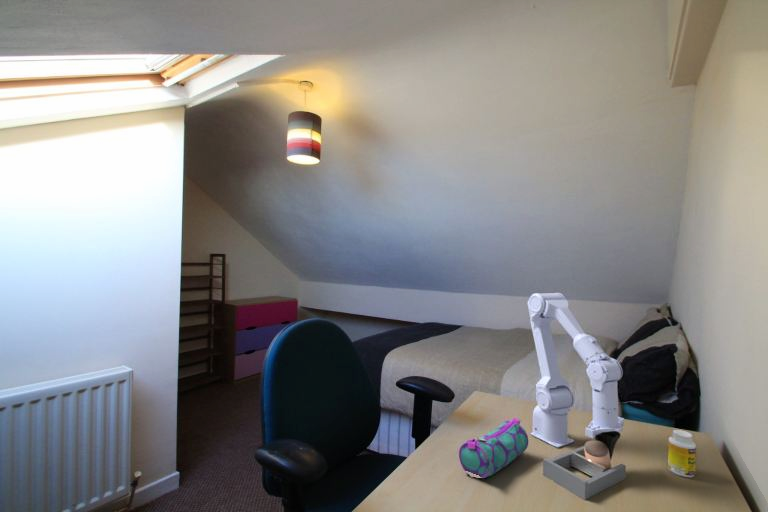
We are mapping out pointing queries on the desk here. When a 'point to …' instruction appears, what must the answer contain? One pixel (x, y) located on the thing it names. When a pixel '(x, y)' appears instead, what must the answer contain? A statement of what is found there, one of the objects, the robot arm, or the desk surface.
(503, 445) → the pencil case
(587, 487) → the grey rectangular frame
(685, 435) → the supplement bottle
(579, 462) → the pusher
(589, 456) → the jar
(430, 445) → the desk surface
